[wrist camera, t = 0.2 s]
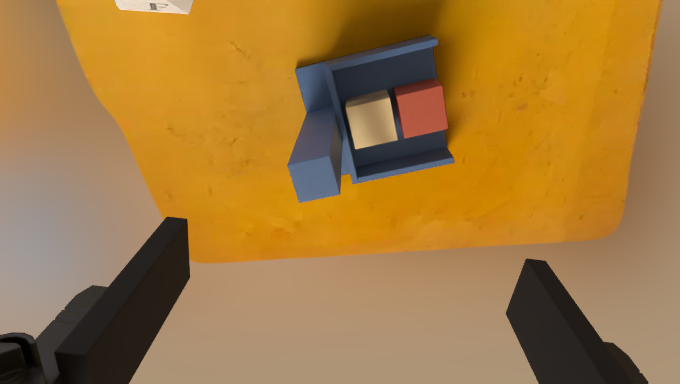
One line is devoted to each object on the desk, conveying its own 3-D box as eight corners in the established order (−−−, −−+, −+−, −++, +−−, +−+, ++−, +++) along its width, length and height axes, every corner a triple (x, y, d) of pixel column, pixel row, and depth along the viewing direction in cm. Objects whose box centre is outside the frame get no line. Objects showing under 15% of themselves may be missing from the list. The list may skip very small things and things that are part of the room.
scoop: (325, 176, 45) (314, 253, 31) (295, 68, 40) (267, 103, 27) (446, 150, 43) (491, 219, 30) (430, 34, 39) (474, 53, 25)
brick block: (399, 126, 42) (404, 138, 38) (392, 87, 40) (396, 95, 37) (439, 117, 41) (448, 129, 38) (433, 77, 40) (442, 85, 36)
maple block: (354, 136, 42) (355, 149, 39) (345, 98, 41) (345, 107, 37) (393, 128, 42) (398, 140, 38) (386, 88, 40) (389, 97, 37)
